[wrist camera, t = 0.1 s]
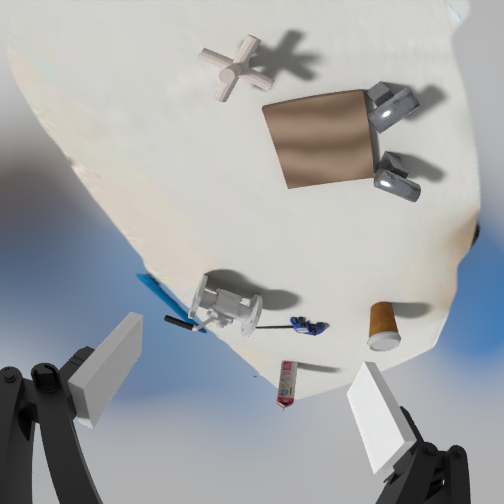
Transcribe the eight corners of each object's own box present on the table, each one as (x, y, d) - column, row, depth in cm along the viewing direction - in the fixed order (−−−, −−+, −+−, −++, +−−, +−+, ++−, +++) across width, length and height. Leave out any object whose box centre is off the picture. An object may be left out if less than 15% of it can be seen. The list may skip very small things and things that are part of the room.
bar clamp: (320, 321, 77) (325, 335, 84) (321, 313, 79) (325, 328, 85) (223, 322, 90) (235, 335, 96) (225, 316, 91) (237, 329, 98)
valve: (265, 288, 72) (257, 339, 62) (248, 306, 81) (239, 353, 71) (186, 258, 68) (167, 309, 58) (178, 280, 77) (162, 326, 67)
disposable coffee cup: (390, 315, 74) (394, 351, 66) (362, 315, 76) (363, 352, 68) (401, 298, 67) (406, 337, 59) (369, 298, 69) (372, 338, 61)
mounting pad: (263, 106, 37) (261, 108, 36) (361, 89, 32) (363, 91, 31) (288, 184, 47) (288, 189, 46) (372, 172, 42) (374, 177, 41)
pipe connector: (227, 22, 27) (205, 23, 21) (291, 52, 30) (289, 60, 23) (199, 77, 34) (173, 94, 28) (257, 104, 37) (246, 128, 30)
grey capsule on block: (371, 118, 35) (384, 139, 30) (355, 99, 33) (366, 116, 28) (405, 95, 31) (425, 112, 25) (390, 74, 29) (408, 87, 24)
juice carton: (281, 365, 117) (275, 410, 103) (282, 360, 112) (276, 408, 98) (295, 366, 116) (290, 411, 102) (297, 362, 111) (292, 409, 97)
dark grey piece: (365, 166, 41) (374, 193, 36) (375, 146, 38) (386, 172, 33) (399, 179, 42) (411, 208, 36) (409, 162, 39) (424, 189, 33)
